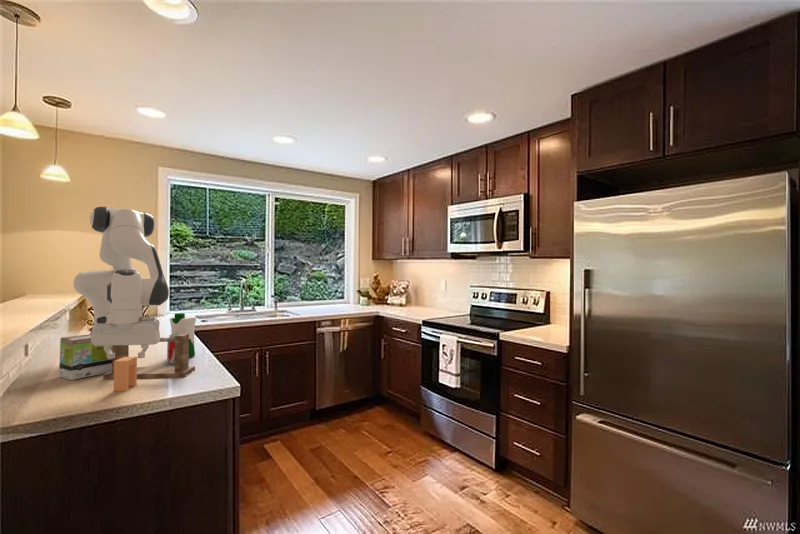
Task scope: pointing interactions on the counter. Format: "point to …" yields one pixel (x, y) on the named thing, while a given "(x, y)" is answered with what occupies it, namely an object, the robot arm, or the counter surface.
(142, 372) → the hanger stand
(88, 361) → the tea box
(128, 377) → the tall peach brick
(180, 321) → the milk carton
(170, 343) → the soda can
